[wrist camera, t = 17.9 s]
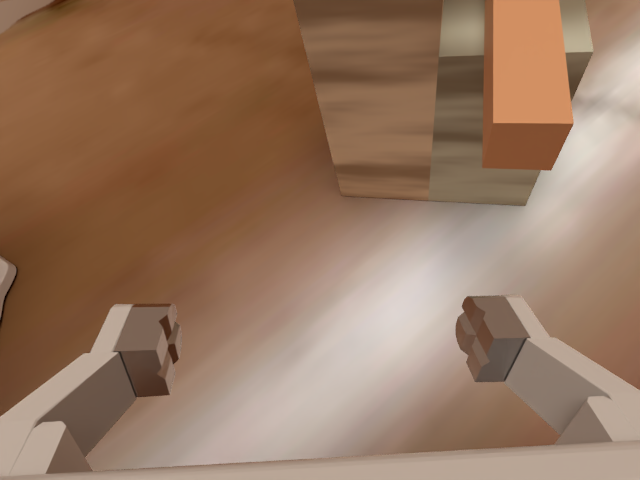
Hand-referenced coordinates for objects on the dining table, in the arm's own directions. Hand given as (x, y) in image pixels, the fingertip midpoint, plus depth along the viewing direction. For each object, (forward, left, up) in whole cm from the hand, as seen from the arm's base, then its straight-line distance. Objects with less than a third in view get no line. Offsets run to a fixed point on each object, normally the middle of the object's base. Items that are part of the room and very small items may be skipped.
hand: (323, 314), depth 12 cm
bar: (-5, +21, -6) cm, 23 cm away
